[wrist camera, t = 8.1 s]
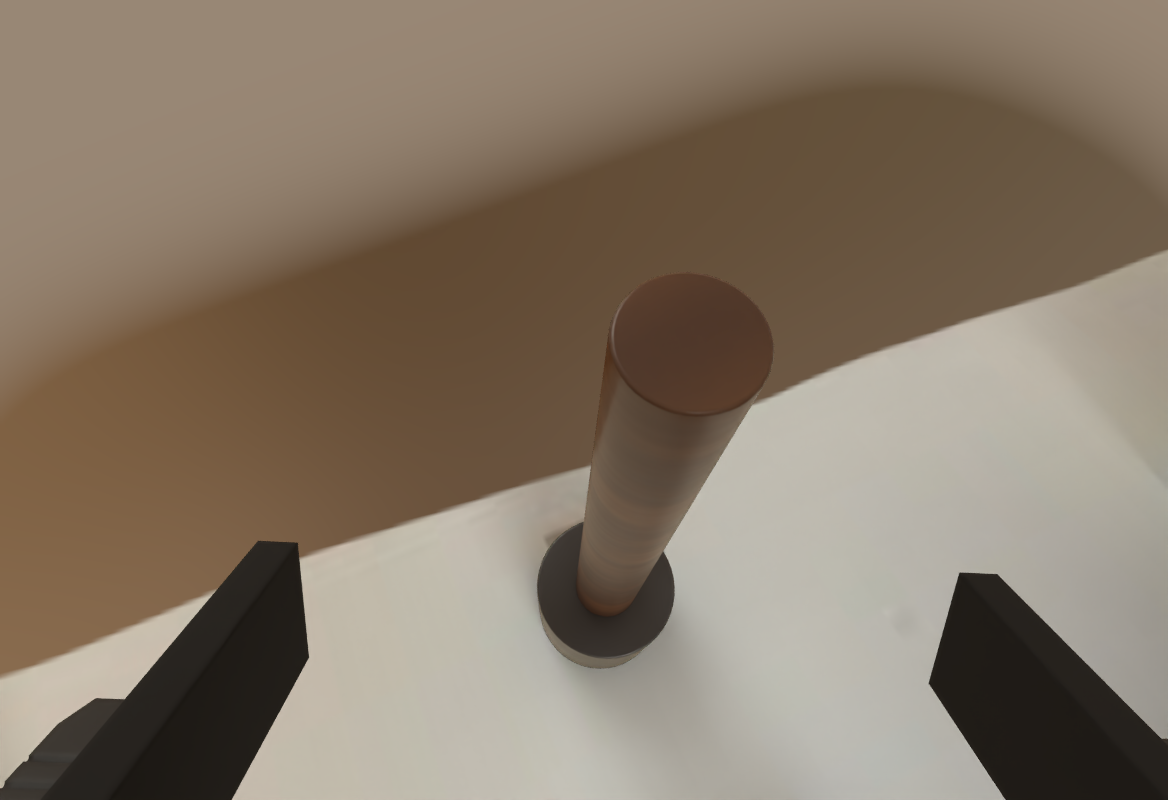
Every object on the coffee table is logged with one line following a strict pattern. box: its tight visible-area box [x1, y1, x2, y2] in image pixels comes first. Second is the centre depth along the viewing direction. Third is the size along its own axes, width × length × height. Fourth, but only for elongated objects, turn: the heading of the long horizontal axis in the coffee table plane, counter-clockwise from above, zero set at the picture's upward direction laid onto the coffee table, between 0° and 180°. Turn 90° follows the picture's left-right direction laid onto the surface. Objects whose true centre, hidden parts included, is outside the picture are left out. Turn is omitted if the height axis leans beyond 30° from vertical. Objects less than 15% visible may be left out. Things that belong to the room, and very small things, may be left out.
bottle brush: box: [537, 272, 774, 668], centre depth 19 cm, size 5×5×22 cm
